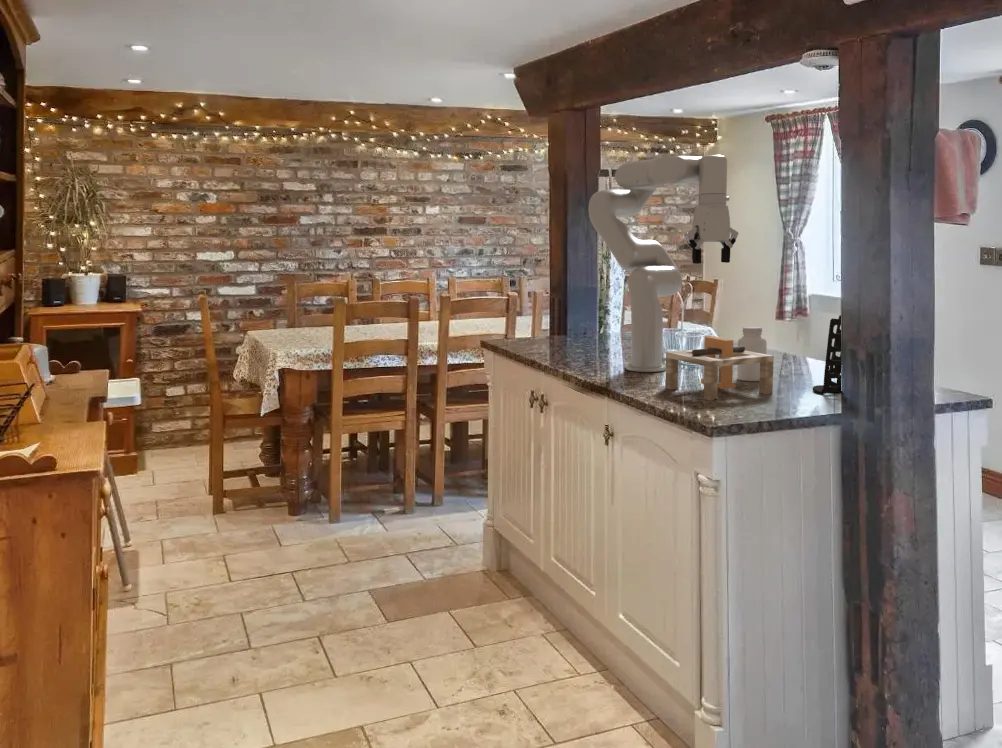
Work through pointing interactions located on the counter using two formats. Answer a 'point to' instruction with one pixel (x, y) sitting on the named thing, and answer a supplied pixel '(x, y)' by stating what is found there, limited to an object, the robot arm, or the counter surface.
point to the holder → (832, 361)
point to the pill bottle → (754, 344)
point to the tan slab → (726, 352)
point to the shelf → (712, 367)
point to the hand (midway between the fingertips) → (711, 262)
